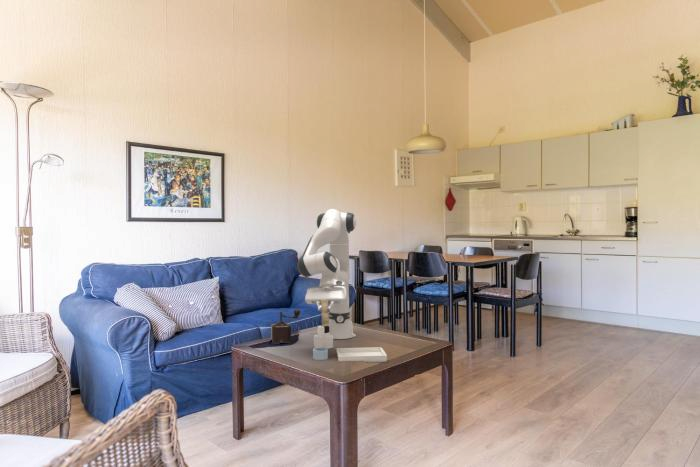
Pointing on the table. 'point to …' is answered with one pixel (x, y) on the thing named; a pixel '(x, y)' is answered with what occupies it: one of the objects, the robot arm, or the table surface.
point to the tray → (362, 354)
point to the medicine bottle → (323, 338)
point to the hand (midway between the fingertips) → (324, 310)
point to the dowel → (324, 312)
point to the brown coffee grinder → (282, 329)
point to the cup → (320, 353)
